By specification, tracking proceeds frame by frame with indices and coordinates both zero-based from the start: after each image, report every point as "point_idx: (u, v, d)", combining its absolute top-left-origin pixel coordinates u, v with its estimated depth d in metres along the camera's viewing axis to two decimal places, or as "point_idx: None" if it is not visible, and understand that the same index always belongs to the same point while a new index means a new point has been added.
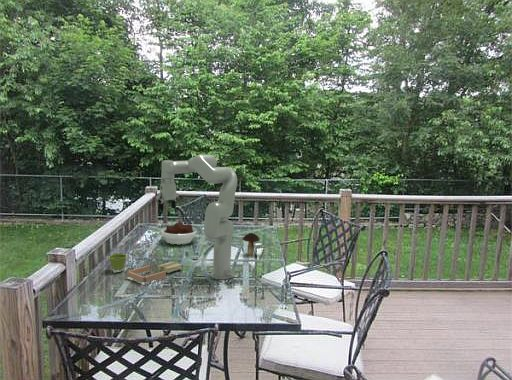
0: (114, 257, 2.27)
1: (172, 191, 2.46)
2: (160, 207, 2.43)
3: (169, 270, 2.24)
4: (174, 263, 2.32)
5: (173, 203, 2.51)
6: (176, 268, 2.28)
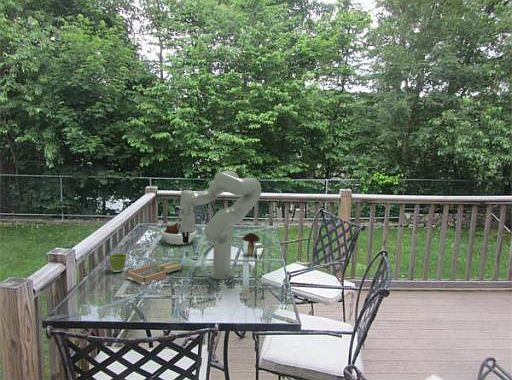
0: (114, 257, 2.27)
1: (191, 222, 2.35)
2: (184, 240, 2.36)
3: (169, 270, 2.24)
4: (174, 263, 2.32)
5: None
6: (176, 268, 2.28)
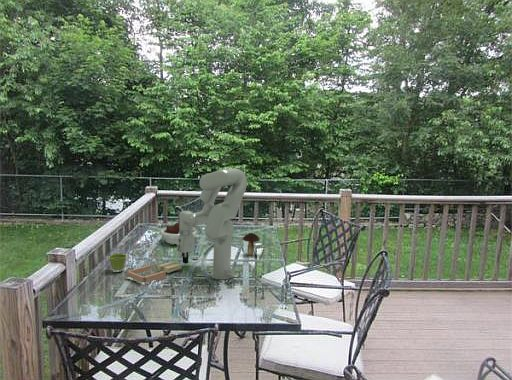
0: (114, 257, 2.27)
1: (191, 243, 2.37)
2: (184, 260, 2.37)
3: (169, 270, 2.24)
4: (174, 263, 2.32)
5: None
6: (176, 268, 2.28)
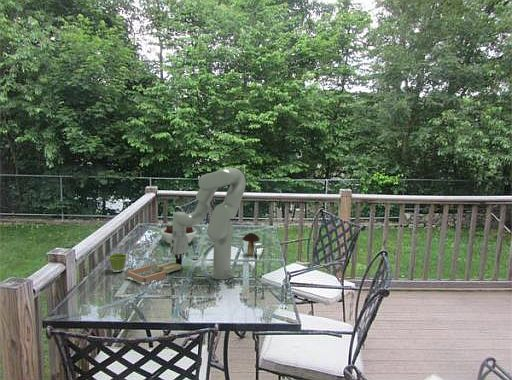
0: (114, 257, 2.27)
1: (184, 244, 2.32)
2: (177, 262, 2.33)
3: (168, 270, 2.23)
4: (173, 263, 2.32)
5: None
6: (175, 268, 2.27)
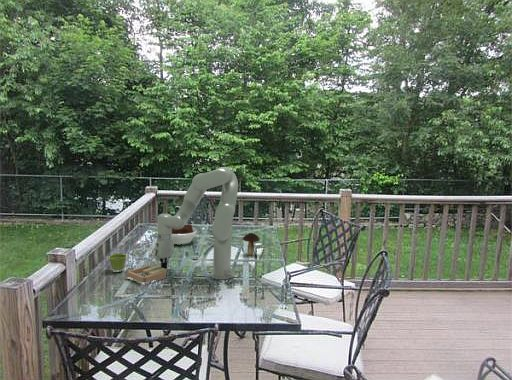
0: (114, 257, 2.27)
1: (169, 247, 2.24)
2: (162, 266, 2.24)
3: None
4: (159, 268, 2.23)
5: None
6: None
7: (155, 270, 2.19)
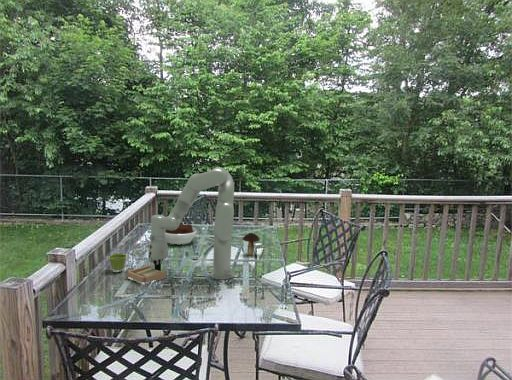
0: (114, 257, 2.27)
1: (163, 249, 2.20)
2: (156, 268, 2.21)
3: None
4: (152, 270, 2.19)
5: None
6: None
7: (149, 272, 2.15)
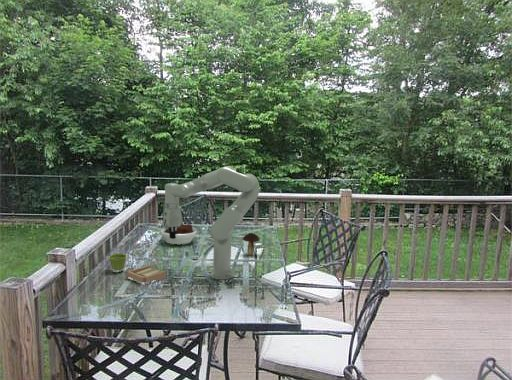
0: (114, 257, 2.27)
1: (177, 217, 2.26)
2: (171, 235, 2.26)
3: None
4: (152, 270, 2.19)
5: None
6: None
7: (149, 272, 2.15)
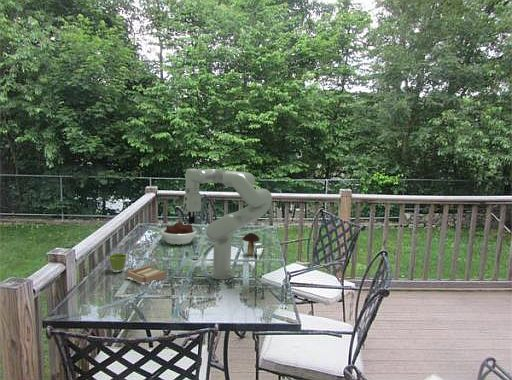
0: (114, 257, 2.27)
1: (197, 202, 2.28)
2: (190, 220, 2.29)
3: None
4: (152, 270, 2.19)
5: None
6: None
7: (149, 272, 2.15)
